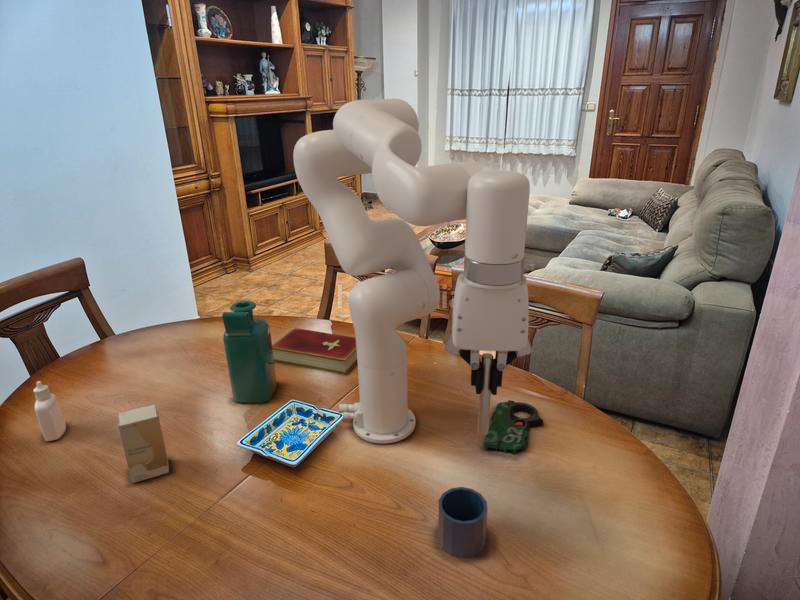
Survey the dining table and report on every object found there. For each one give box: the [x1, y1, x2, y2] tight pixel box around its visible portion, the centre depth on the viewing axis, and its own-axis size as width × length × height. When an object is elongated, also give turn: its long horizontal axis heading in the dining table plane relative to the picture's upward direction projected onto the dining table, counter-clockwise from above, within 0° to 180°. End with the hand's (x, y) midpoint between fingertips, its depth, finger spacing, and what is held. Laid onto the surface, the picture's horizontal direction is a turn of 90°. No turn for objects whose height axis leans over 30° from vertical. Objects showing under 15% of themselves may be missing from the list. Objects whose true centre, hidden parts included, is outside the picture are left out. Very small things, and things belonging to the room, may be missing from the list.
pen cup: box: [437, 486, 488, 559], centre depth 76 cm, size 7×7×7 cm
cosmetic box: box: [117, 403, 170, 484], centre depth 90 cm, size 6×4×12 cm
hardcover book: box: [272, 327, 358, 376], centre depth 130 cm, size 12×21×4 cm, turn 70°
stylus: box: [477, 352, 494, 436], centre depth 74 cm, size 2×2×13 cm
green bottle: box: [222, 300, 278, 404], centre depth 110 cm, size 10×8×22 cm
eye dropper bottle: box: [32, 380, 67, 442], centre depth 101 cm, size 4×6×12 cm
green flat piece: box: [483, 399, 544, 456], centre depth 101 cm, size 16×1×10 cm
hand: (485, 388), depth 74 cm, fingers closed on stylus, 1 cm apart
